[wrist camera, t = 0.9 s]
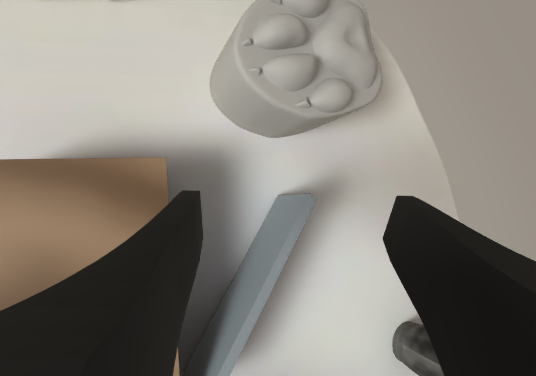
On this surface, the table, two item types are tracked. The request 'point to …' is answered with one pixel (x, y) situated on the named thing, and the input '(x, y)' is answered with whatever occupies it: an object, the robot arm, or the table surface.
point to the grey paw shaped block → (296, 66)
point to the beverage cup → (416, 349)
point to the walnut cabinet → (70, 216)
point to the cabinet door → (250, 287)
